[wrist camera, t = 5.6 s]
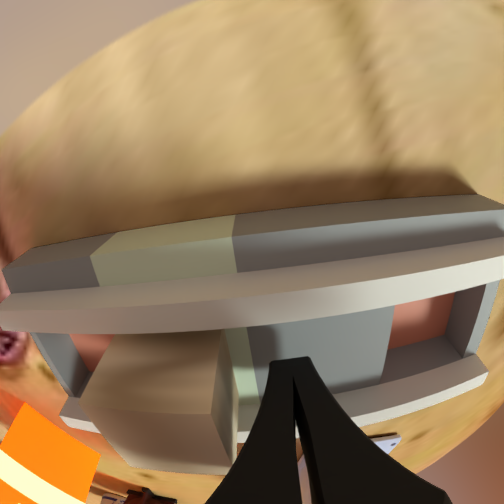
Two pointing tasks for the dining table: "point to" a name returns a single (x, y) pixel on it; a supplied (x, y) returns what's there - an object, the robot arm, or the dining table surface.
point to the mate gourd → (147, 498)
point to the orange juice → (43, 463)
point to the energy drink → (112, 499)
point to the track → (282, 298)
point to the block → (167, 401)
